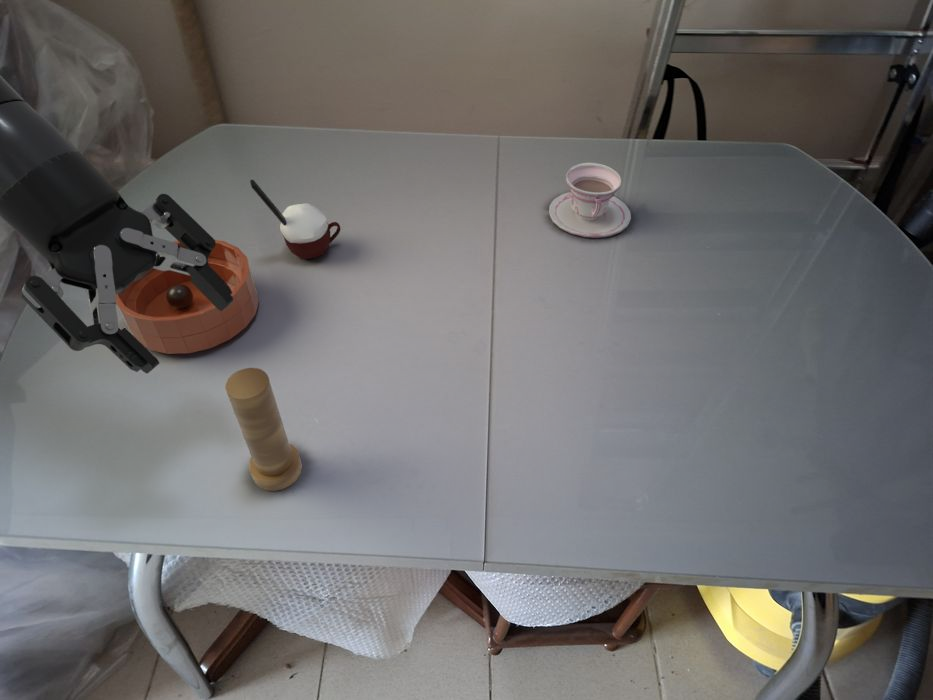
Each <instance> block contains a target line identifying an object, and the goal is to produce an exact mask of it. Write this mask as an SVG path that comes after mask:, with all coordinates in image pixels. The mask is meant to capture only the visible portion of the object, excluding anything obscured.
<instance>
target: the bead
mask: <svg viewBox="0 0 933 700" xmlns="http://www.w3.org/2000/svg"><path fill="white" fill-rule="evenodd" d="M166 299H167V301H168V303H169V304H170V305H171V306H172V307H174V308H177V309H183V308H186V307H188V306H189V305H190V304H191V303H192V301H193V293H192V291H191V290H190V288H188V287H187V286H185V285H182V284H177V285H173V286H172V287H170V288H169V289H168V291H167V294H166Z"/></svg>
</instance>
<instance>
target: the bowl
mask: <svg viewBox="0 0 933 700" xmlns="http://www.w3.org/2000/svg"><path fill="white" fill-rule="evenodd" d="M214 240H215V242H216V245H215V247H214V248H213V249H212V251H211V253H210V255H209V257H208V264H209V266H210V267H211V268H212V269H213V270H214V271H215V272H216V273H217V274H218V275H219V276H220V277H221V279H223V281H224V282H225V283H226V284H227V285H228V286H229V287H230V289H231V291H232V294H231V296H232V297H233V300H234V301H233V302H232V303H231V304H230V305H229V306H227V307H226V308H225V309H224V310H223V311H220V310H218V309H217V308H216V307H215V306H214V305H213V304H212V303H211V302H210V301H209V300H208V299H207V298H206V297H205V296H204V295H203V294H202V293H201V292H200V290H199V289H198V288H197V287H196V286H195V285H194V284H193V283H192V282H191V281H190V280H191V279H192V278H193V277H192V276H190V275H186V274H182V273H178V272H175V271H171V270H167V271H161V270H157V269H154V268H152V270H151V271H150V272H149V273H148V274H147V275H146V276H144V277H143V278H142V279H139V280H137V281H134V282H132V283H131V284H130V285H129V287H128V288H127V289H126V290H125V291H124V292H122V293H121V294H120V295H118V294H116V308H117V309H118V311H119V313H120V315H121V317H122V320H123V321H124V323H125V325H126V327H127V330H128V331H129V332H130V333H131V334H132V335H133V336H134V337H135V338H136V339H137V340H138V341H139V342H140V343H141V344H142V345H143V346H144V347H145V348H146V349H147V350H148V351H153V352H158V353H161V354H162V353H163V354H166V355H168V354H169V355H172V354H174V355H176V354H192V353H197V352H201V351H204V350H209V349H213V348H214V347H216V346H219V345H221V344H223V343H225V342H228V341H230V340H232V339H233V338H234V337H236V335H238V334H239V333H240V332H242V331H243V330H244V329H246V328H247V326H248V325H249V324H250V322H251V321H252V320H253V319H254V317H256V315H257V309H258V305H259V302H260V299H259V295H258V290H257V288H256V283H255V281H254V277H253V273H252V270H251V266H250V264H249V263H250V262H249V259H248V257H247V256H246V254H244V253H243V252H242V250H241V249H240V248H239V247H237V246H236V245H233V244H231V243H229V242H228V241H225V240H220V239H214ZM173 242H174V243H177V244H178V245H179V246H180V247H182V248H185V247H184V246H183V245H182V244H181V243H180V242H179V241H178V240H175V241H173ZM185 249H186V248H185ZM177 284H182V285H185V286H187V287H188V288H190V290H191V291H192V293H193V301H192V303H191V304H190V305H189V306H188V307H186V308H183V309H177V308H174V307H172V306H171V305H170V304H169V303H168V301H167V299H166V294H167V291H168V289H169V288H170V287H172V286H173V285H177Z"/></svg>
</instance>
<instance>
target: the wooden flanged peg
mask: <svg viewBox="0 0 933 700" xmlns="http://www.w3.org/2000/svg"><path fill="white" fill-rule="evenodd" d="M225 392H226V394H227V398H228V399H229V403H230V405H231V407H232V411H233V413H234V415H235V417H236V421H237V423H238V425H239V428H240V431H241V433H242V435H243V439H244V441H245V443H246V446H247V449H248V451H249V454H250V459H249V462H248V463H249V465H248V468H249V472H250V475H251V478H252V480H253V482H254V484H255V485H256V487H258V488H260V489H262V490H263V491H268V492H276V491H281V490H284V489H287V488H289V487H291V485H293V484H294V483H295V482H296V481H297V480H298V479H299V478H300V476H301V473H302V470H303V464H302V459H301V456H300V453H299V450H298V449H297V448H296V447H295V446H294V445H293V444H291V443H290V442H289V439H288V435H287V431H286V429H285V426H284V423H283V419H282V416H281V413H280V410H279V407H278V403H277V400H276V397H275V393H274V391H273V388H272V383H271V381H270V378H269V375H268V374H267V372H265V370H262V369H261V368H258V367H246V368H242V369H240V370H237V371H236V372H233V373H232V375H230V376H229V378H227V380H226V383H225Z"/></svg>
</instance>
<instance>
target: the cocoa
mask: <svg viewBox="0 0 933 700" xmlns="http://www.w3.org/2000/svg"><path fill="white" fill-rule="evenodd" d="M249 183H250V186H251V189H252V190H253V191H254V192H255V193H256V194H257V196H258V197H259V198H260V199H261V200H262V202H263V203H264V204H265V205H266V206H267V207H268V209H269V210H270V211H271V212H272V213H273V215H274V216H275V217H276V219H278V221H279V222H280V226H279V230H280V232H281V234H282V237H283V240H284V242H285V245H286V246H287V248H288V250H289V251H290V253H292V254H293V255H294V256H296V257H298V258H300V259H305V260H309V259H315V258H318V257H320V256H322V255H323V254H324V253H325V252H327V250H328V248H329V246H330V244H331V243H332V242H333V241H334V240H335V239H336V238H337V237H338V236H339V234H340V232H341V225H340V224H339V223H338V222H337V221H332V222H330V223H329V222H328V220H327V217H326V215H325V213H324V212H323V211H321V210H319V209H318V208H317V207H315V206H314V205H312V204H311V203H306V202H305V203H298V204H293V205H292V204H291V205H288V206H287V207H286V209H284V211H283V212H281V211H280V210H279V208H278V207H277V206H276V205H275V203H273V201H272V200H271V199H270V198H269V197H268V195H267V194H266V193H265V192H264V191H263V190H262V188H261V187H260V186H259V185H258V184H257V182H256V181H255V180H254V179H250V181H249ZM333 227H336V230H335V232H334V233H332V235H331V229H332V228H333Z"/></svg>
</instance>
